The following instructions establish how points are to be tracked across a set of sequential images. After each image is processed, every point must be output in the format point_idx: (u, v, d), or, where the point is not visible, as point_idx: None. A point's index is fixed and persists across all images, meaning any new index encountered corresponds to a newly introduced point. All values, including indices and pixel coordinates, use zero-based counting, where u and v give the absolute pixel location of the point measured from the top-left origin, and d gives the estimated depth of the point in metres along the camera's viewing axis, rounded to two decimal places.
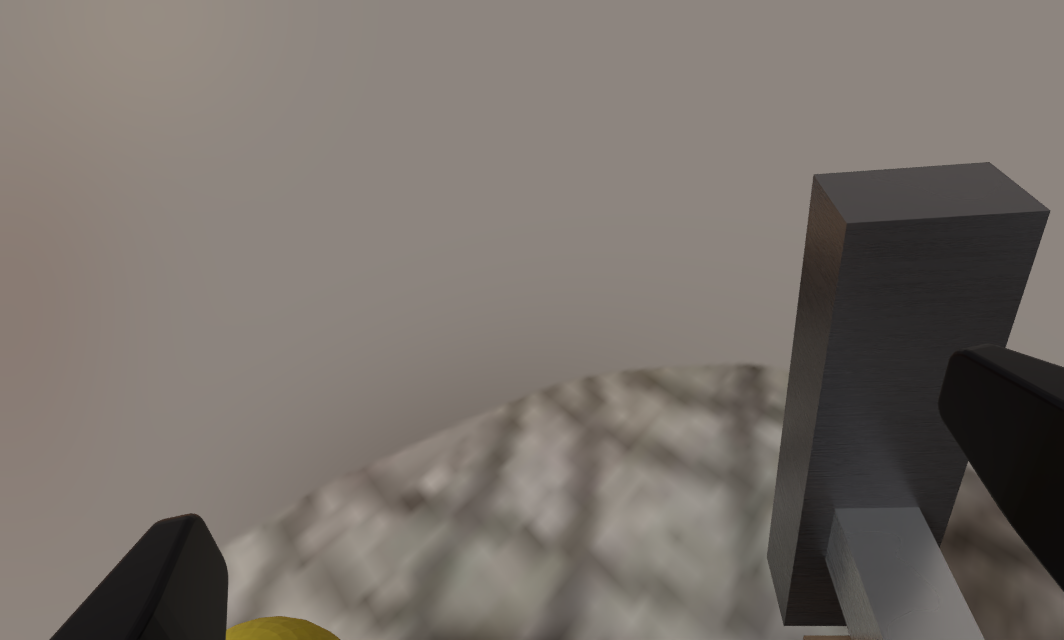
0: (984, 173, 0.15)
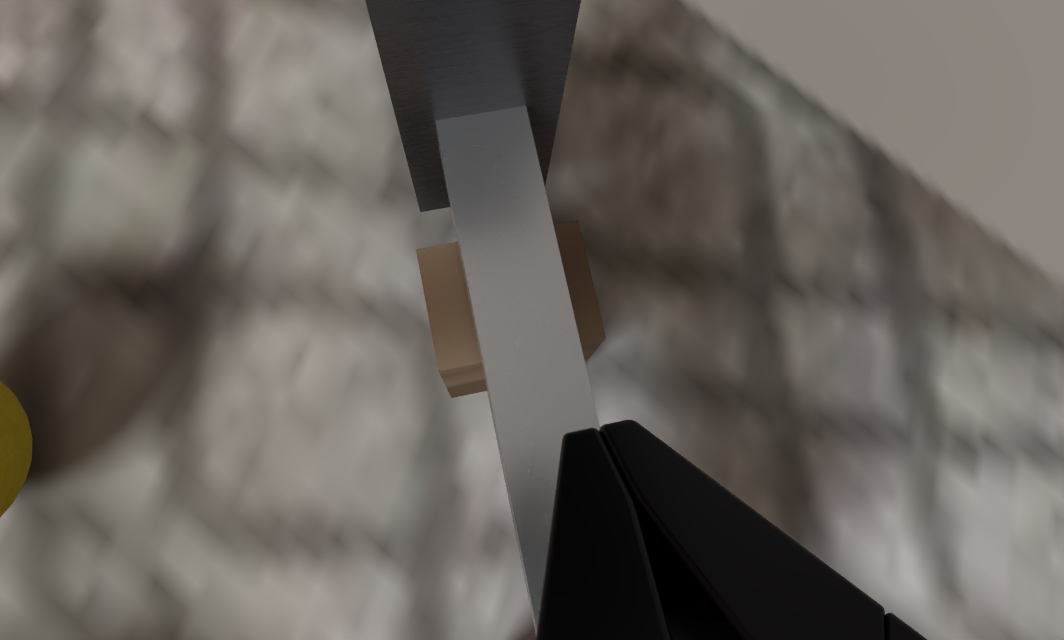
0: None
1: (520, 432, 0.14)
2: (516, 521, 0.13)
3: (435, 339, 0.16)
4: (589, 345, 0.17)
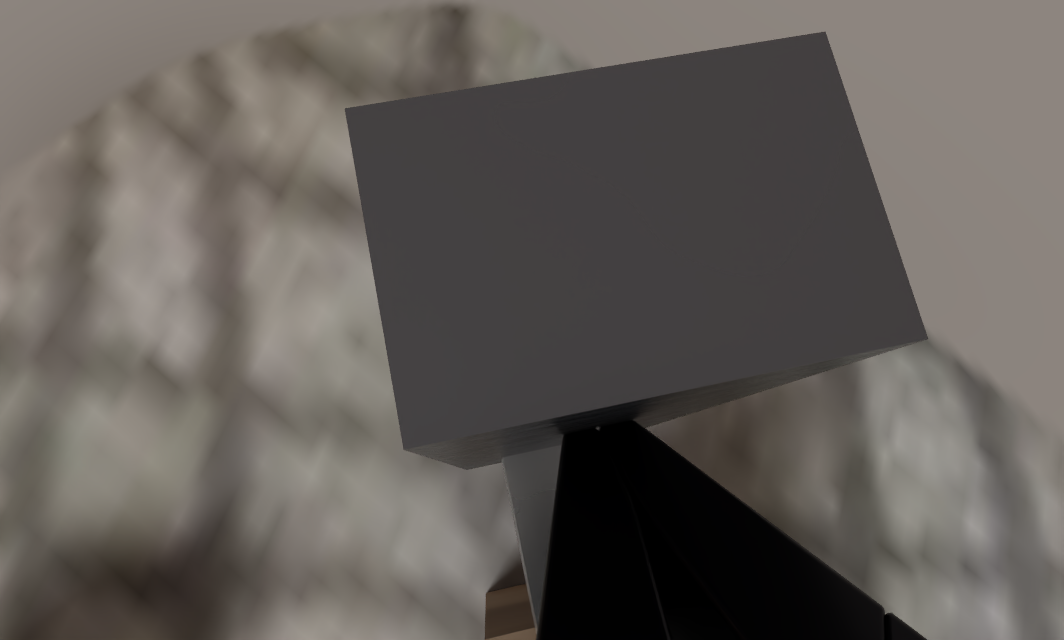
0: (803, 104, 0.05)
1: None
2: None
3: None
4: None
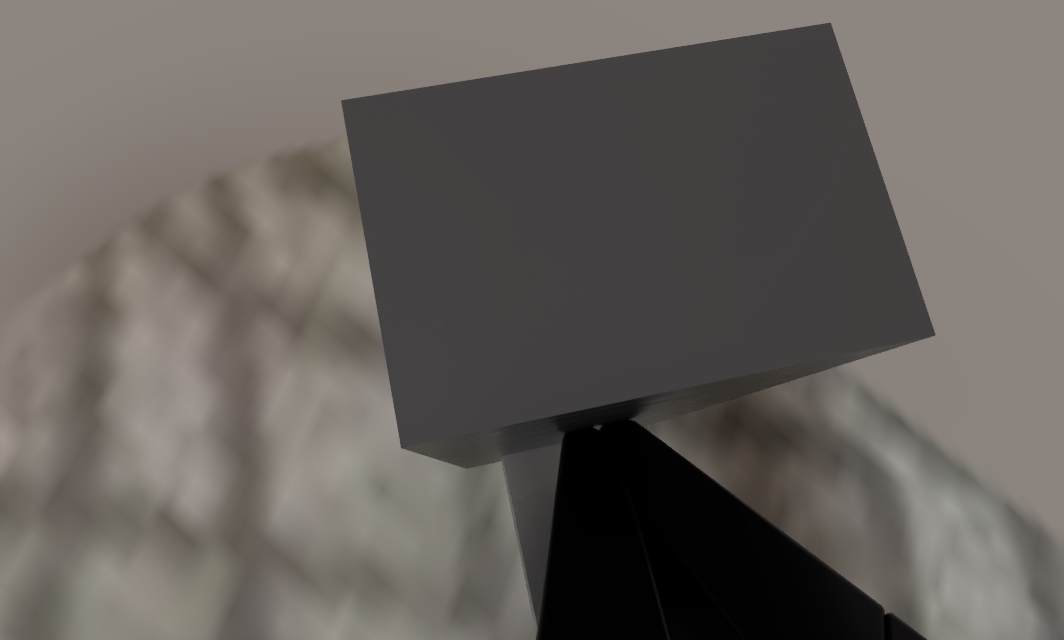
0: (808, 94, 0.05)
1: None
2: None
3: None
4: None
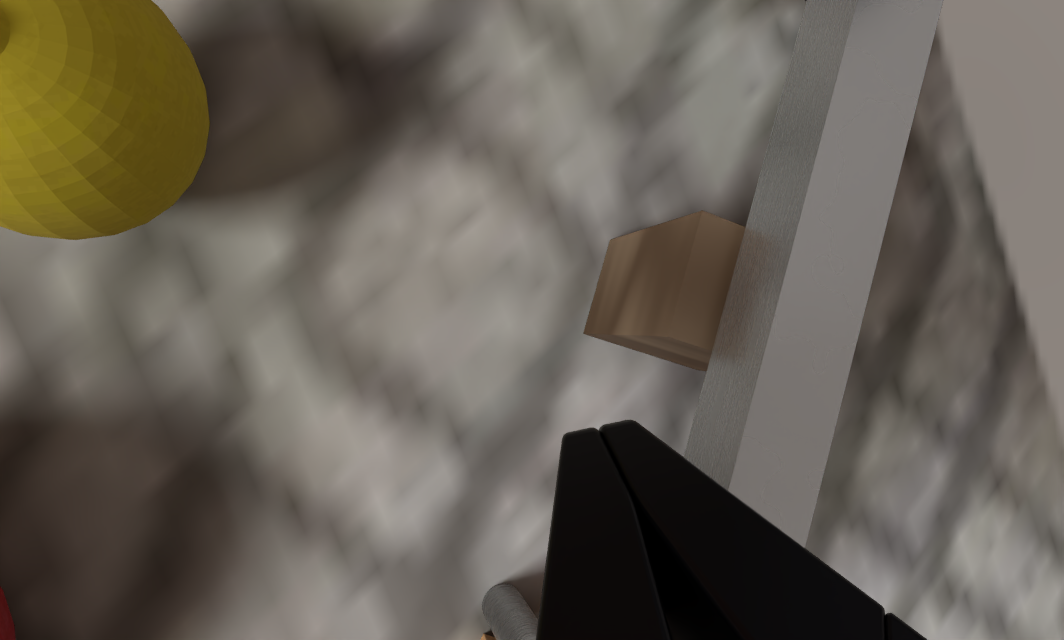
0: None
1: (830, 178, 0.14)
2: (793, 248, 0.14)
3: (679, 305, 0.16)
4: None
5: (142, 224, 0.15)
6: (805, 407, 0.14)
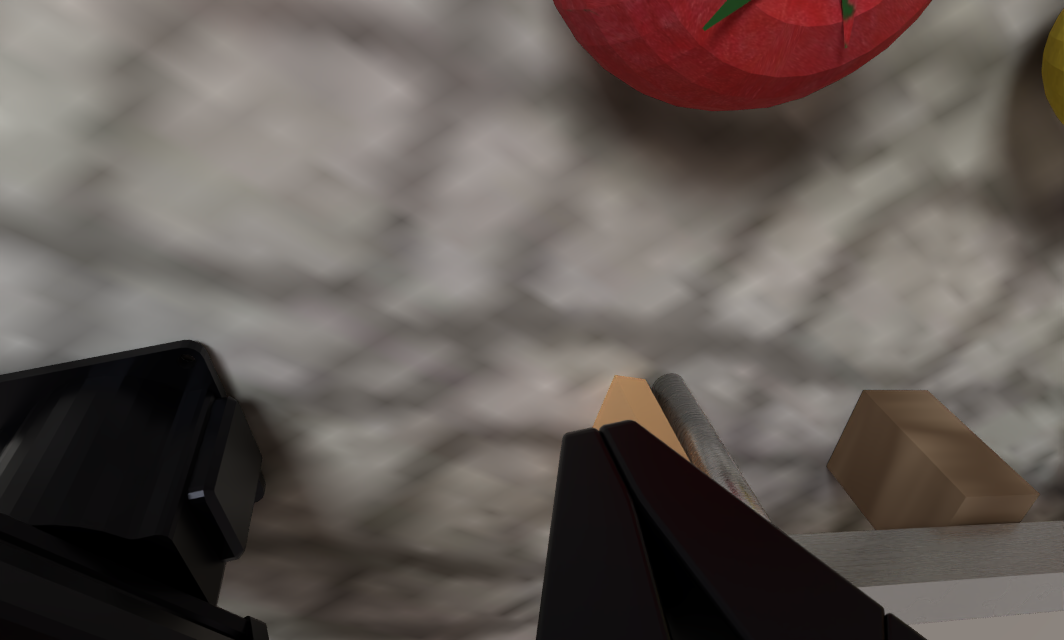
0: None
1: None
2: (1060, 573, 0.22)
3: (984, 498, 0.23)
4: None
5: (1063, 113, 0.19)
6: (964, 604, 0.22)
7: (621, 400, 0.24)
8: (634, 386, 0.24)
